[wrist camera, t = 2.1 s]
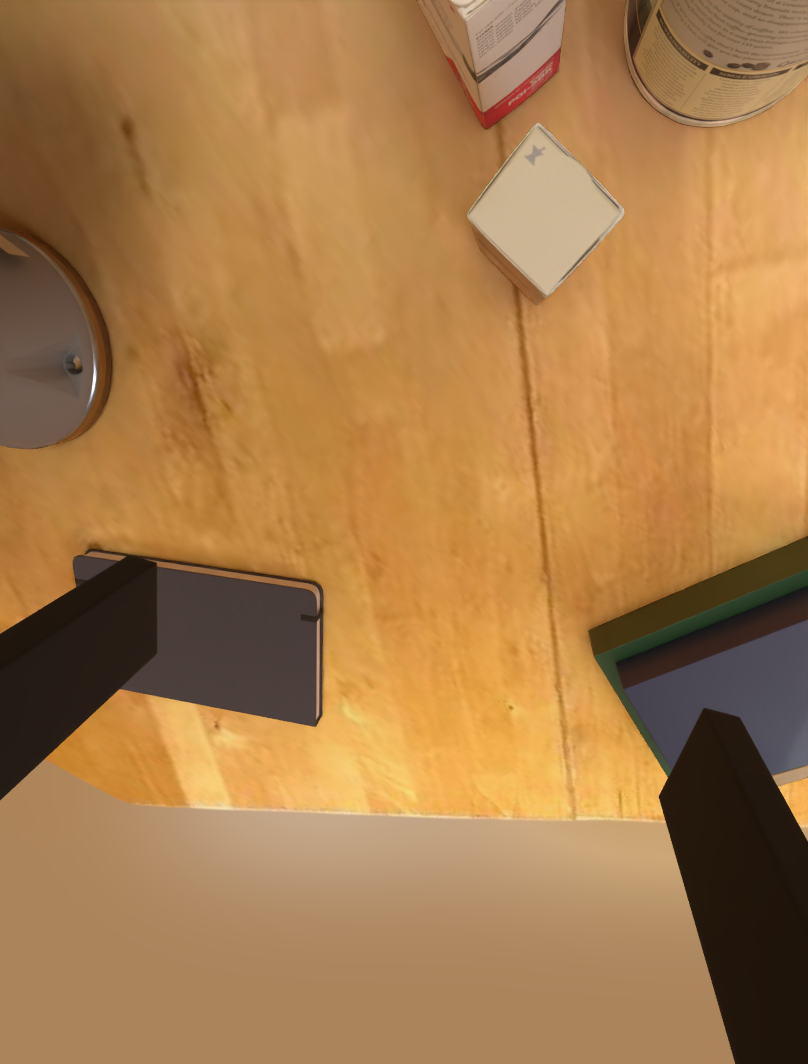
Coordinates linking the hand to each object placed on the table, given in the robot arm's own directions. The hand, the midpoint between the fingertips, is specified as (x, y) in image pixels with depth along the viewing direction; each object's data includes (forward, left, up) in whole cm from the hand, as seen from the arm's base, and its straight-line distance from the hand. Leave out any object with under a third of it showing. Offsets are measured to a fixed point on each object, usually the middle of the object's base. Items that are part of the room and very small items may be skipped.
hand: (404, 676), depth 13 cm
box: (+9, +9, -26) cm, 29 cm away
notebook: (-28, -1, -26) cm, 38 cm away
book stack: (+8, -21, -26) cm, 34 cm away
